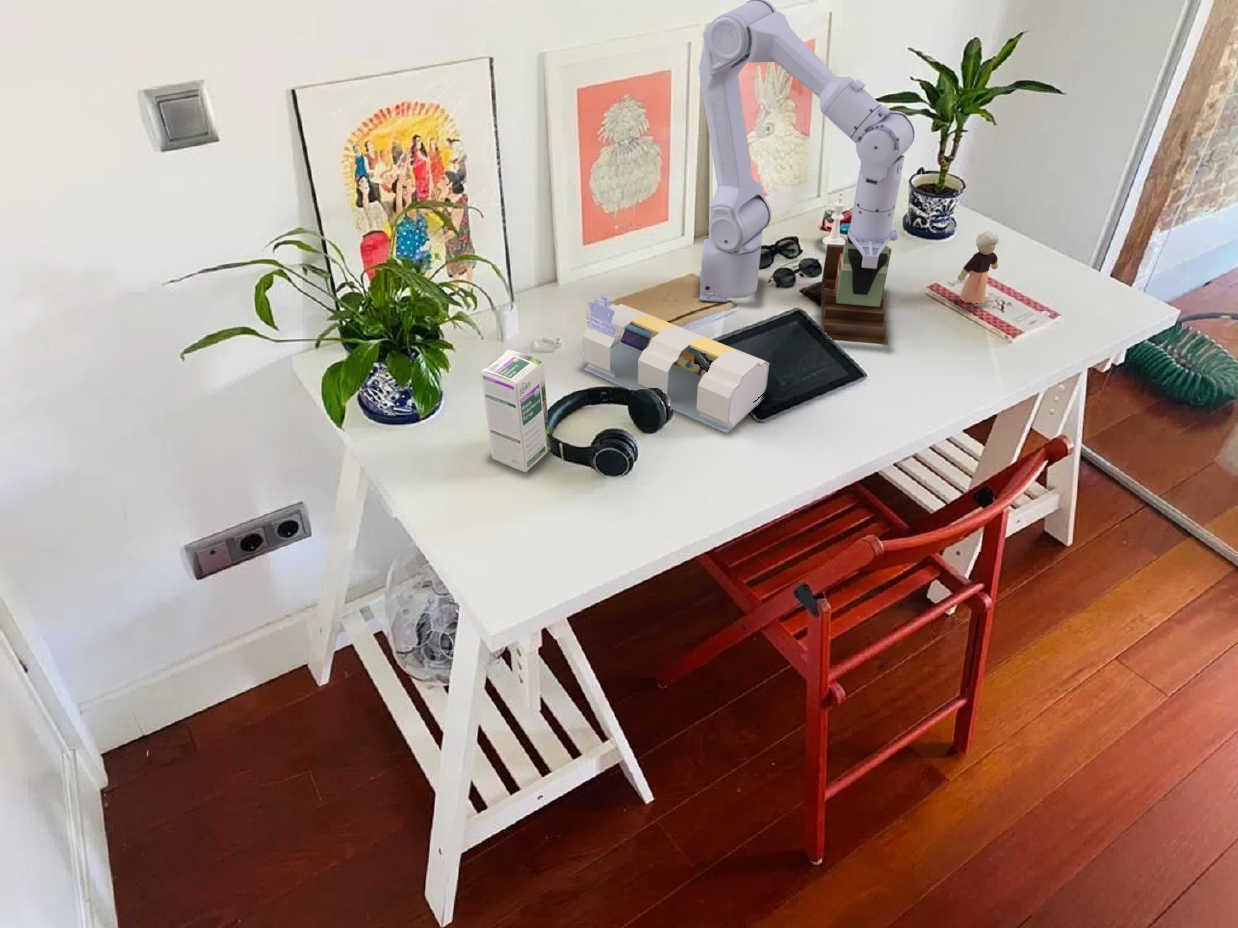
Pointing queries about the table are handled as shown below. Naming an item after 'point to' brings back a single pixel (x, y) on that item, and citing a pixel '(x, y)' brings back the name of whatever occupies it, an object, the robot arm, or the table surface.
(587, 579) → the table surface
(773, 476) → the table surface
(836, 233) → the chess piece
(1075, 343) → the table surface
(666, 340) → the diorama
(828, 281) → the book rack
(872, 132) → the robot arm
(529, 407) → the syrup box
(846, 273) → the green book
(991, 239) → the grandmother figurine
